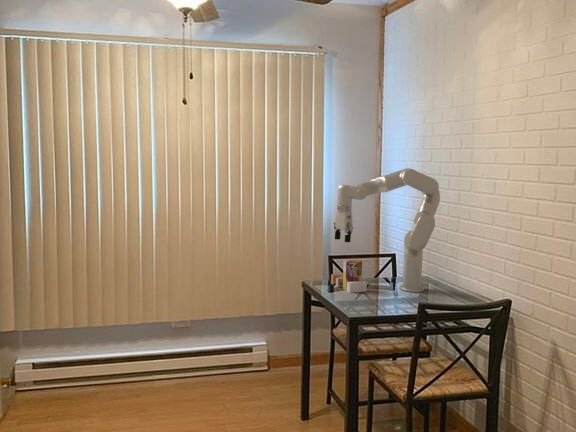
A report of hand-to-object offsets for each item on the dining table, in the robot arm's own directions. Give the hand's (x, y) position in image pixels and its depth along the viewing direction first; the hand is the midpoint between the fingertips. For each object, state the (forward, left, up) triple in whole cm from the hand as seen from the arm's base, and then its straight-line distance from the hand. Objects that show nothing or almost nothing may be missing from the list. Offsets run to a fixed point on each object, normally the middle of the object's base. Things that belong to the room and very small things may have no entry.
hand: (342, 240), depth 320 cm
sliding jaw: (0, +1, -24) cm, 24 cm away
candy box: (-1, +11, -24) cm, 26 cm away
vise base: (0, +6, -25) cm, 26 cm away
